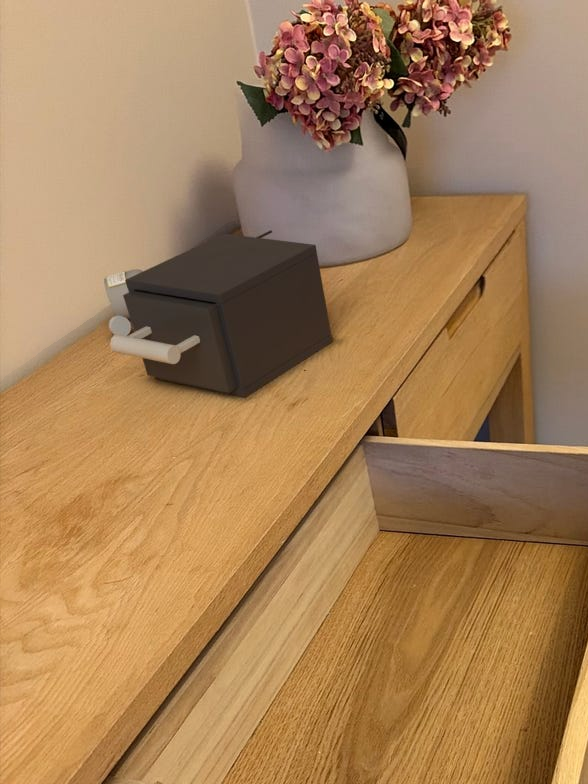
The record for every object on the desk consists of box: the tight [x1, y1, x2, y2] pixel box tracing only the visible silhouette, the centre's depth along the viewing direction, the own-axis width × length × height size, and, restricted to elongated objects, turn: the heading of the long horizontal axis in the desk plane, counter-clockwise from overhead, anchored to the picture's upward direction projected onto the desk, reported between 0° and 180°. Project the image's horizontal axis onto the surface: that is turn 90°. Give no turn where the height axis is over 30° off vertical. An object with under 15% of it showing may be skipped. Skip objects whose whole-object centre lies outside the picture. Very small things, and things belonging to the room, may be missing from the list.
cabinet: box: [125, 233, 333, 399], centre depth 95 cm, size 14×12×10 cm
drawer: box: [109, 291, 237, 393], centre depth 92 cm, size 17×10×8 cm, turn 150°
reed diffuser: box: [103, 229, 273, 336], centre depth 108 cm, size 10×7×20 cm
